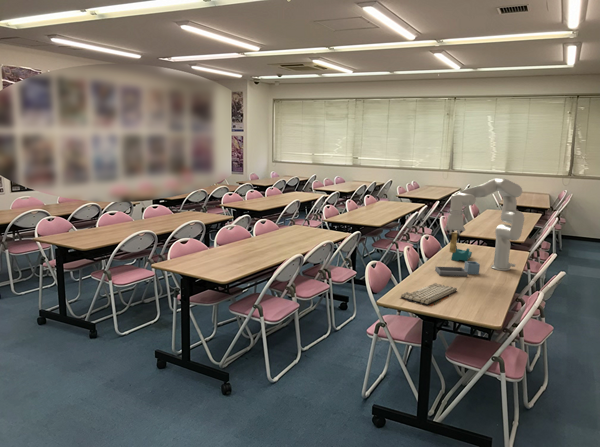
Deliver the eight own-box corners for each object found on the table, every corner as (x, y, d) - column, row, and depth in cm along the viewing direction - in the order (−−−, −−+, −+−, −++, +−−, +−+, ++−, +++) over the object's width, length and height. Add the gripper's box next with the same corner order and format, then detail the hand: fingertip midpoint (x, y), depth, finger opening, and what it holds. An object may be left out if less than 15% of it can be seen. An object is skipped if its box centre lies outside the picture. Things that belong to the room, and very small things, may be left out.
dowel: (454, 251, 315) (456, 232, 312) (456, 252, 311) (458, 233, 308) (448, 251, 315) (450, 232, 312) (450, 252, 311) (452, 233, 309)
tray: (461, 271, 321) (461, 267, 321) (467, 276, 309) (467, 272, 309) (435, 270, 322) (435, 266, 321) (439, 275, 310) (440, 271, 309)
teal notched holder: (466, 263, 347) (468, 249, 345) (451, 259, 352) (453, 246, 350) (470, 258, 362) (473, 245, 360) (456, 254, 367) (459, 242, 365)
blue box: (475, 271, 323) (476, 261, 321) (478, 274, 315) (479, 264, 314) (464, 271, 323) (464, 261, 322) (467, 274, 315) (468, 264, 314)
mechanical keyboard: (430, 285, 290) (430, 280, 289) (459, 293, 277) (460, 287, 277) (398, 300, 262) (399, 294, 262) (430, 308, 250) (430, 302, 249)
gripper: (467, 212, 312) (464, 239, 315) (441, 211, 312) (439, 238, 315) (470, 214, 304) (468, 241, 307) (444, 213, 305) (442, 240, 308)
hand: (453, 239), depth 311 cm, fingers closed on dowel, 4 cm apart
